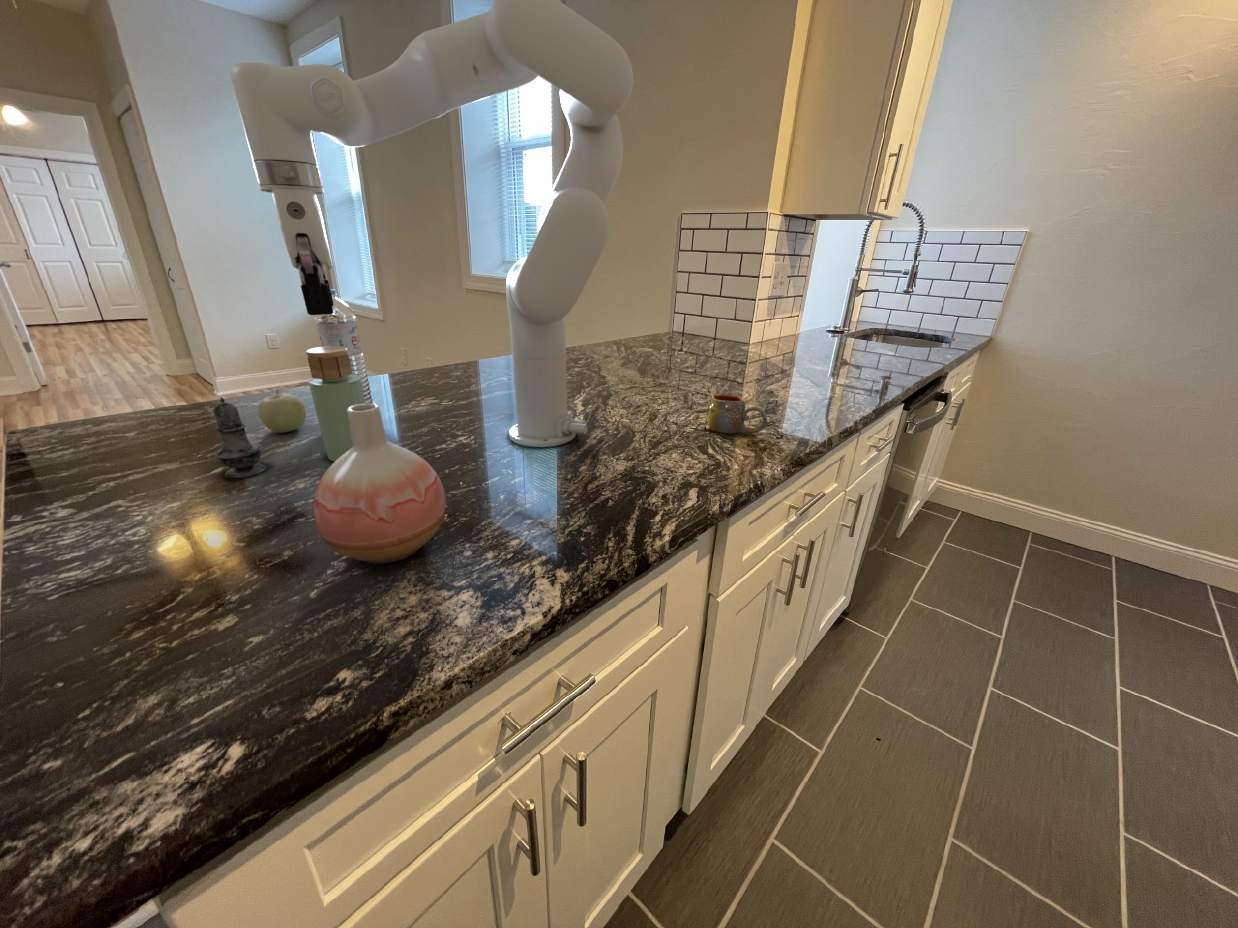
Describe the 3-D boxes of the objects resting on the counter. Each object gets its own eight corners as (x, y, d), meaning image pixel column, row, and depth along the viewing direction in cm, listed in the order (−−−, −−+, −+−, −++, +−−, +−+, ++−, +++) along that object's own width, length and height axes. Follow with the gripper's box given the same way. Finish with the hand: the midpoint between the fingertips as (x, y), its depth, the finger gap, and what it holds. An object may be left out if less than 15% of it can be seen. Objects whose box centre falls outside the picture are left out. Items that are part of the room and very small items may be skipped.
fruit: (316, 429, 93) (305, 389, 89) (272, 440, 88) (259, 397, 84) (301, 420, 97) (290, 381, 94) (258, 430, 92) (245, 389, 89)
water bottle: (360, 425, 96) (331, 292, 85) (330, 422, 97) (298, 290, 86) (382, 414, 102) (358, 288, 91) (354, 411, 103) (326, 287, 93)
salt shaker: (277, 466, 78) (255, 394, 73) (240, 481, 72) (214, 405, 67) (250, 461, 79) (227, 390, 74) (213, 475, 74) (185, 400, 69)
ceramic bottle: (384, 448, 85) (365, 352, 78) (352, 464, 79) (328, 361, 72) (351, 443, 87) (329, 348, 80) (317, 458, 81) (291, 357, 74)
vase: (358, 602, 49) (317, 441, 42) (307, 549, 57) (265, 407, 50) (474, 545, 59) (457, 407, 51) (416, 507, 67) (394, 382, 59)
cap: (360, 372, 79) (355, 347, 77) (332, 380, 74) (326, 354, 72) (332, 369, 80) (327, 345, 79) (303, 377, 75) (297, 351, 74)
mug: (700, 429, 98) (703, 397, 95) (717, 420, 102) (720, 390, 100) (755, 444, 91) (760, 410, 88) (770, 434, 95) (775, 402, 93)
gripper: (320, 175, 61) (351, 316, 68) (323, 187, 74) (348, 303, 82) (247, 171, 57) (288, 319, 65) (265, 184, 71) (296, 305, 78)
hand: (322, 310), depth 73 cm, fingers open, 9 cm apart
